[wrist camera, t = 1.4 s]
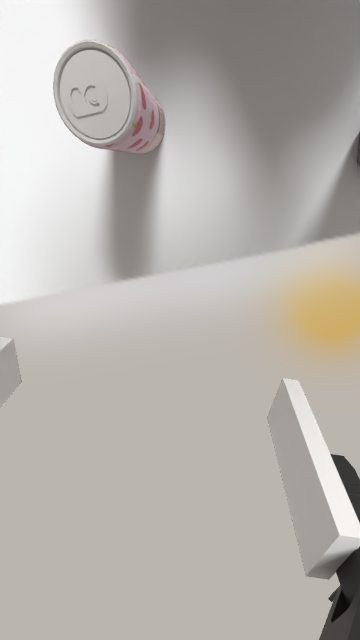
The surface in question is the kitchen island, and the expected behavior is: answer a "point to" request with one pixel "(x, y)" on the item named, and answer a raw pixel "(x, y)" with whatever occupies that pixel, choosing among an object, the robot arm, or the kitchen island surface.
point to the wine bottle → (359, 153)
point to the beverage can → (106, 100)
